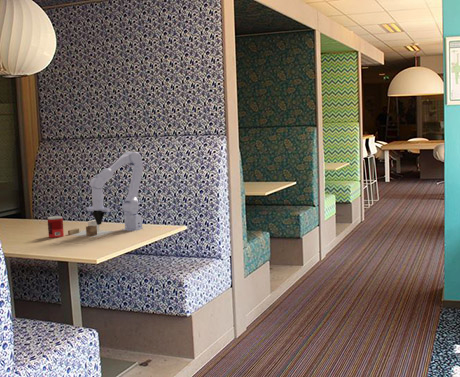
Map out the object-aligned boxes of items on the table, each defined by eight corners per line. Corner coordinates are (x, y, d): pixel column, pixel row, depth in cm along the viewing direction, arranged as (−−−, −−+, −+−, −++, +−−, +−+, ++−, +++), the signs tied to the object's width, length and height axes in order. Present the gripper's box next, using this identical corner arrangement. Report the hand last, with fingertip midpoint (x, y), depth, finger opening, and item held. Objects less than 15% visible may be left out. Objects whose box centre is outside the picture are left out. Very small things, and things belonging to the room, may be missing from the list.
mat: (115, 232, 345) (115, 231, 345) (95, 237, 330) (95, 236, 330) (88, 230, 354) (87, 229, 354) (67, 235, 340) (66, 234, 340)
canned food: (66, 236, 338) (65, 216, 337) (58, 239, 330) (56, 218, 329) (54, 235, 340) (53, 215, 339) (45, 238, 333) (44, 218, 332)
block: (97, 234, 336) (96, 225, 335) (92, 236, 332) (91, 227, 332) (91, 234, 338) (90, 225, 337) (86, 235, 334) (85, 226, 334)
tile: (99, 232, 345) (98, 219, 344) (91, 234, 338) (90, 221, 338) (96, 231, 345) (96, 219, 345) (88, 234, 339) (87, 221, 339)
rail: (79, 232, 344) (78, 228, 344) (70, 235, 338) (70, 230, 338) (77, 232, 345) (76, 228, 345) (68, 234, 339) (67, 230, 339)
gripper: (82, 200, 338) (84, 224, 339) (103, 201, 331) (104, 226, 332) (91, 198, 344) (92, 222, 346) (111, 199, 337) (113, 224, 339)
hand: (99, 224), depth 339 cm, fingers closed
